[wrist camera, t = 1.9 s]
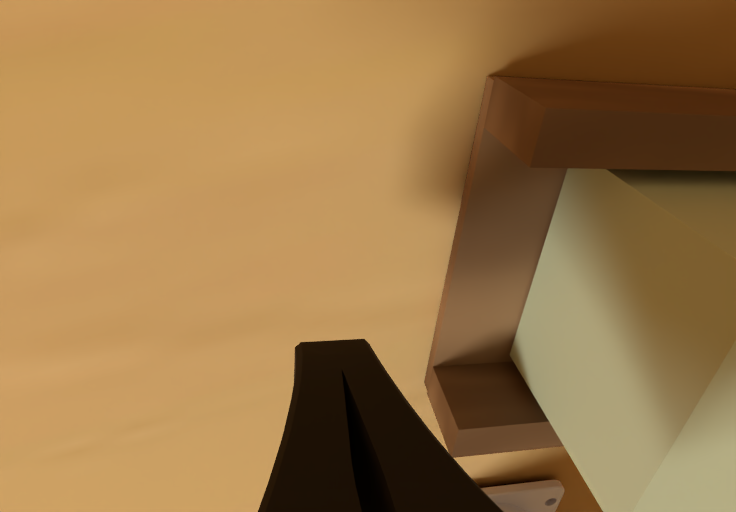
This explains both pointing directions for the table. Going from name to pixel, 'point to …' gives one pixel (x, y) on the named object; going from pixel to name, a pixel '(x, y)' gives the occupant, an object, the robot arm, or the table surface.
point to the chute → (542, 228)
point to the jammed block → (639, 336)
